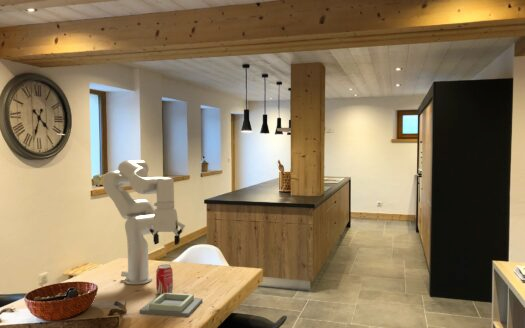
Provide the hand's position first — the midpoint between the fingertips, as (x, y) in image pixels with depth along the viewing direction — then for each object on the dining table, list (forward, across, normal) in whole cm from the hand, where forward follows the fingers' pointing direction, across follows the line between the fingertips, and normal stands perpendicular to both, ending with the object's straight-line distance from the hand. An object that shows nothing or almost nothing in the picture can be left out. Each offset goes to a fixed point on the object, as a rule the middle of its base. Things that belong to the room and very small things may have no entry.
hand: (166, 244), depth 183 cm
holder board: (+22, +9, -16) cm, 28 cm away
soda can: (+22, -1, -1) cm, 22 cm away
